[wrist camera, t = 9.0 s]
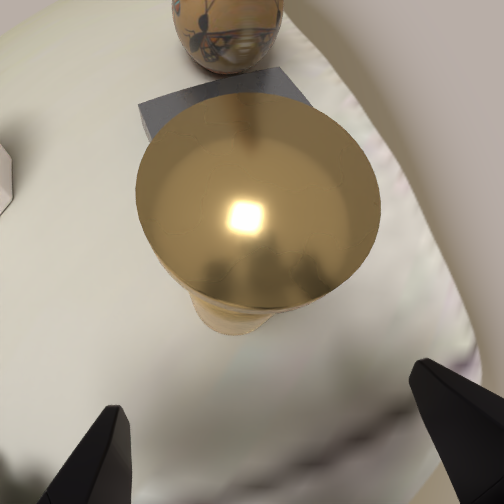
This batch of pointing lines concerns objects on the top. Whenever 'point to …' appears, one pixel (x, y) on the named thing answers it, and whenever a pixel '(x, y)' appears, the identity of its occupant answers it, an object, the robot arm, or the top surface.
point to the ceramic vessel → (227, 31)
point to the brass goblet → (256, 206)
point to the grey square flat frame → (215, 95)
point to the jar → (5, 179)
